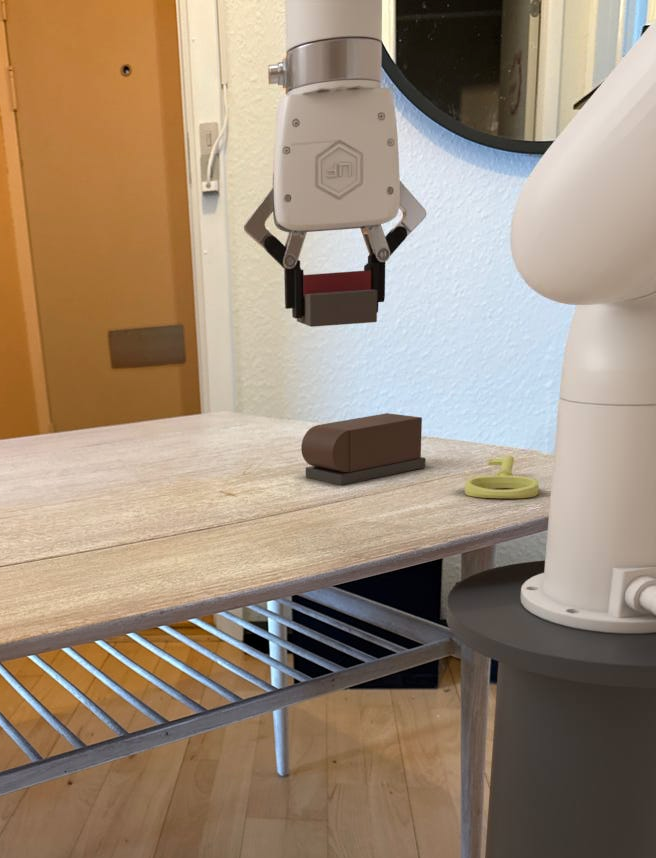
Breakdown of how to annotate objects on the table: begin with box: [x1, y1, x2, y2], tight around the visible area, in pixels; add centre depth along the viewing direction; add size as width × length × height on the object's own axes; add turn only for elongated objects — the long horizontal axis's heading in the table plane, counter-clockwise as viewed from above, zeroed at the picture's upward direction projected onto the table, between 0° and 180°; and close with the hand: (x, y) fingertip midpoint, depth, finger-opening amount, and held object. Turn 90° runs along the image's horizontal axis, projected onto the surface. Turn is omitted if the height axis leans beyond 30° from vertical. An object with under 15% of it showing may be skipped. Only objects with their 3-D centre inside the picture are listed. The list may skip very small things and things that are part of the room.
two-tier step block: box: [296, 270, 378, 328], centre depth 80 cm, size 10×6×4 cm, turn 179°
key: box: [464, 454, 540, 499], centre depth 99 cm, size 7×12×2 cm, turn 176°
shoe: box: [300, 412, 426, 486], centre depth 109 cm, size 14×7×6 cm, turn 120°
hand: (334, 312), depth 80 cm, fingers closed on two-tier step block, 5 cm apart
